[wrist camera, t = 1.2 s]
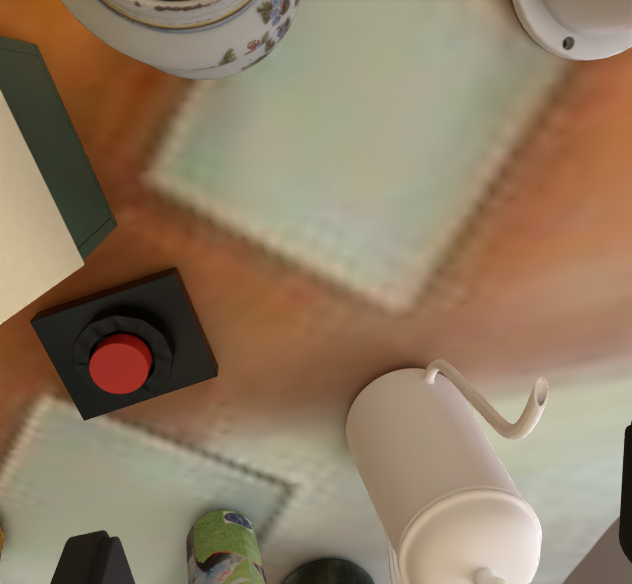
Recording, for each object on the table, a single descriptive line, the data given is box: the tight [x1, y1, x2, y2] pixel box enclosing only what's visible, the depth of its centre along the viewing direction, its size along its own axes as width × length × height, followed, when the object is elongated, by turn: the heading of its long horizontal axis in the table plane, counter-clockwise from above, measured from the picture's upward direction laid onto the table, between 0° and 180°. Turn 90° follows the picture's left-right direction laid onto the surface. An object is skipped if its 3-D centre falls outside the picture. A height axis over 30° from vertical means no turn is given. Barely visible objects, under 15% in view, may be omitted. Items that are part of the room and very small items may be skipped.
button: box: [89, 334, 152, 394], centre depth 40 cm, size 4×4×2 cm
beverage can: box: [187, 510, 266, 584], centre depth 45 cm, size 6×7×12 cm
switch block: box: [30, 267, 218, 420], centre depth 42 cm, size 11×9×4 cm
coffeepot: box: [346, 359, 549, 584], centre depth 40 cm, size 11×25×19 cm, turn 170°
